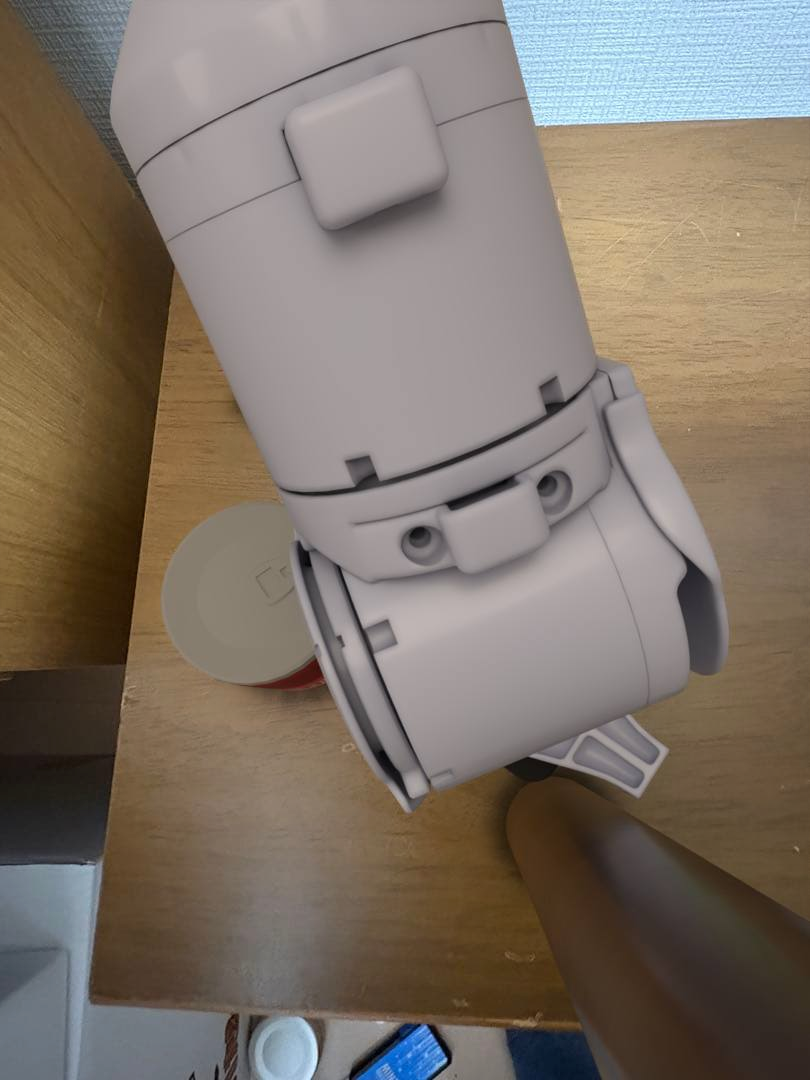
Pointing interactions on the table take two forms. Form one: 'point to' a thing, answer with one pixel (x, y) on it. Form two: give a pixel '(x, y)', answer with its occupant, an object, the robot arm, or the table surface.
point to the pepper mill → (661, 945)
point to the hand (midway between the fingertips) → (471, 664)
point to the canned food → (240, 601)
